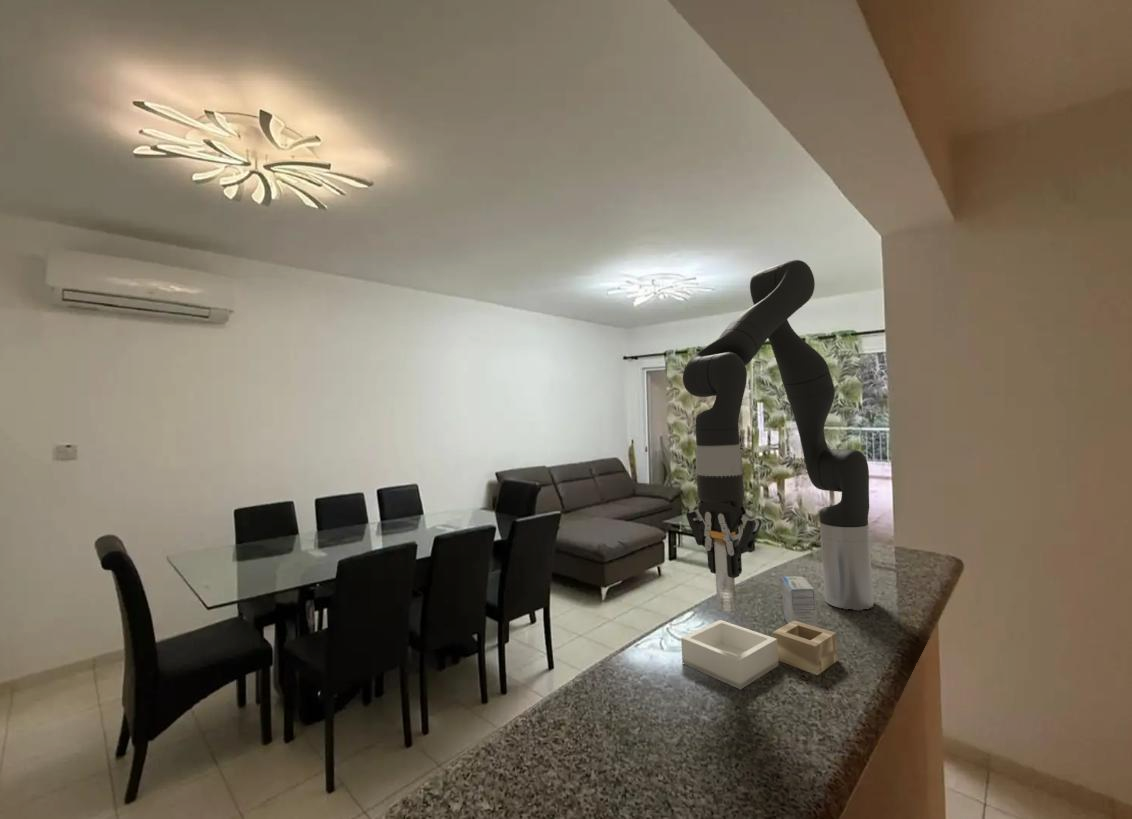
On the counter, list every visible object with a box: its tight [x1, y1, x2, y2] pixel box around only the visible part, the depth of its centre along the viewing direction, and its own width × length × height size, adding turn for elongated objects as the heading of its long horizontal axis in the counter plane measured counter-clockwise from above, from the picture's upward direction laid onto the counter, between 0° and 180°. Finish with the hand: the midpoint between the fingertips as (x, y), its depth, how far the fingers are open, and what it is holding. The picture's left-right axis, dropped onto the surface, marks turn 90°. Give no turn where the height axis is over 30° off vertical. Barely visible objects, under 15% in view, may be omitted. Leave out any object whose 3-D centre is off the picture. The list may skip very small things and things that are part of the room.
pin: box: [709, 530, 737, 612], centre depth 81 cm, size 4×4×13 cm
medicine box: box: [780, 575, 819, 628], centre depth 94 cm, size 8×4×9 cm, turn 168°
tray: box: [680, 619, 780, 691], centre depth 81 cm, size 11×11×4 cm
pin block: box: [772, 621, 839, 676], centre depth 81 cm, size 7×7×4 cm
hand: (724, 574), depth 81 cm, fingers closed on pin, 3 cm apart
